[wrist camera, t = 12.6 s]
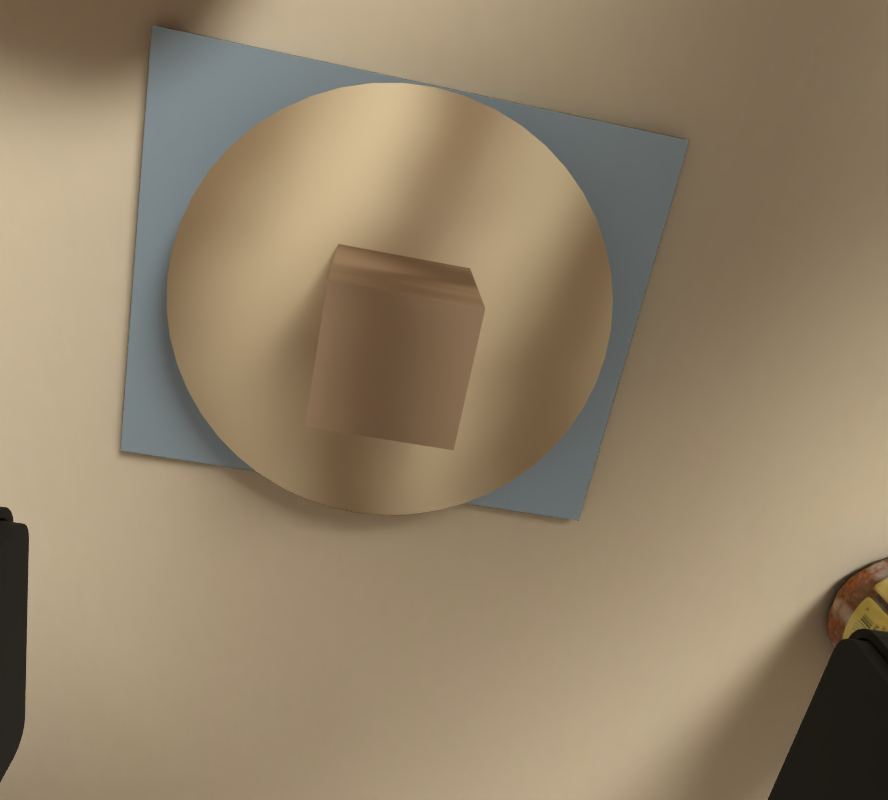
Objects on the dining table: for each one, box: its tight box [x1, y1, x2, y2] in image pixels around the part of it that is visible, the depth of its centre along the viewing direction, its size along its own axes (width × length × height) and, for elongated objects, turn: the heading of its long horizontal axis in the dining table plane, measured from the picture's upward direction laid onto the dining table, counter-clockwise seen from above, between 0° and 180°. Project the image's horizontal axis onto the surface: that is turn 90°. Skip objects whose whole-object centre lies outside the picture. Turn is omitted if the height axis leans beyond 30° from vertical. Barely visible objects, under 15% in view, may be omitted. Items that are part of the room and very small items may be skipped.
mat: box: [121, 25, 690, 521], centre depth 31 cm, size 18×15×1 cm
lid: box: [167, 83, 613, 515], centre depth 27 cm, size 15×15×7 cm
